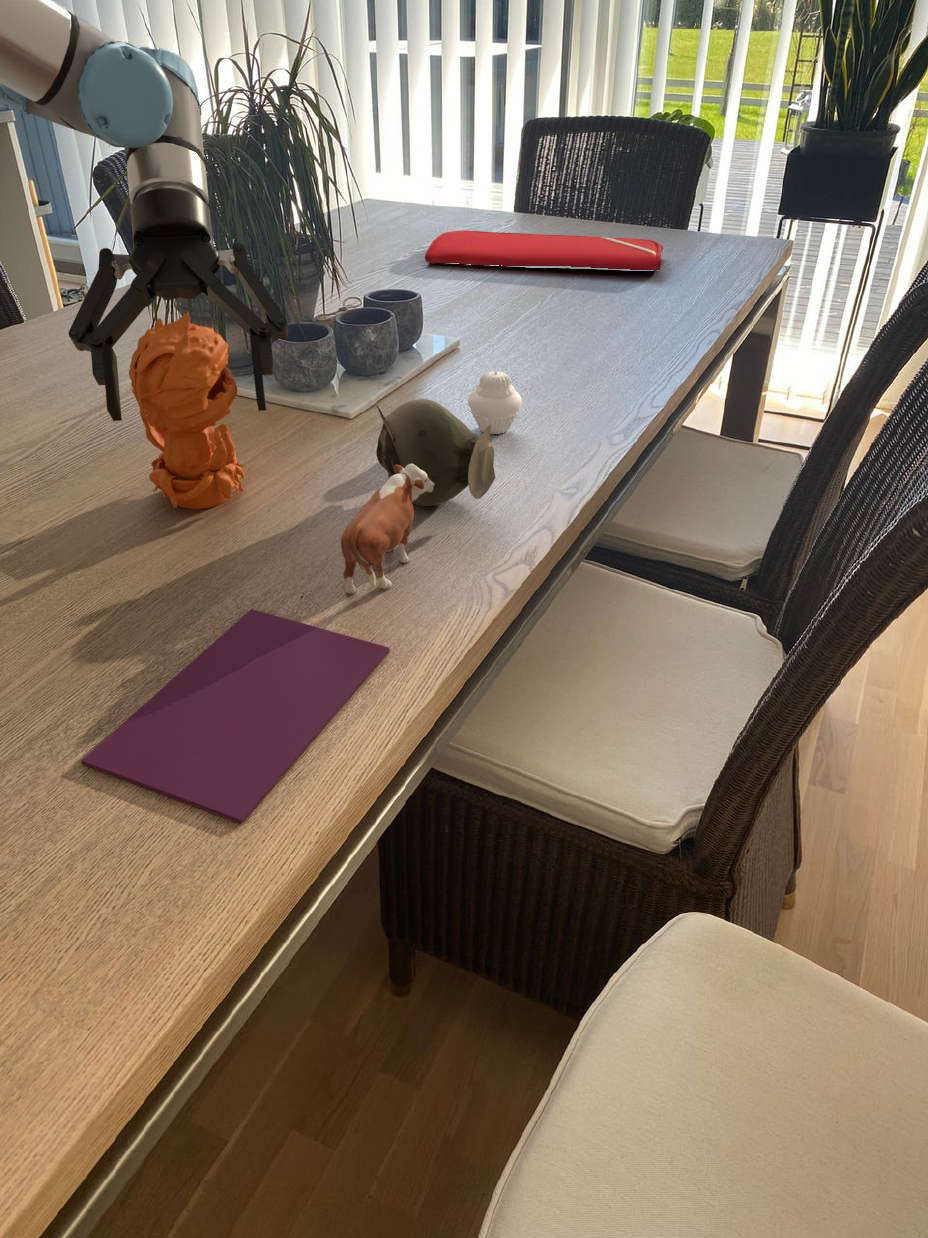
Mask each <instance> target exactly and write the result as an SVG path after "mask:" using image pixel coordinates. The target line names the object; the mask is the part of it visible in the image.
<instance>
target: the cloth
mask: <svg viewBox="0 0 928 1238" xmlns="http://www.w3.org/2000/svg"><path fill="white" fill-rule="evenodd" d="M390 651H391V650H390V647H389V646H385V645H381V644H379V643H378V644H377V643H374V642H371V641H367V640H364V639H361V638H357V637H354V636H351V635H346V634H342V633H340V632H336V631H331V630H328V629H324V628H321V627H317V626H314V625H311V624H307V623H304V622H300V621H296V620H293V619H290V618H285V617H283V616H278V615H276V614H272V613H268V612H265V611H261V610H257V609H254V608H250V609H249V610H248V611H247V612H246V613H245V614H244V615H243V616H242V617H241V618H240V619H238V620H237V621H236V622H235V623H233V624H232V626H230V627H229V628H228V629H227V630H226V631H225V632H223V634H222V635H220V636H219V637H218V638H217V639H216V640H215V641H213V642H212V643H211V644H210V645H209V646H208V647H207V648H206V649H205V650H204V651H202V652H201V653H200V654H199V655H198V656H197V657H195V658H194V659H193V660H192V661H191V662H189V664H188V665H187V666H185V667H184V668H183V669H182V670H181V671H180V672H179V673H178V674H176V676H174V677H173V678H172V679H171V680H170V681H168V682H167V684H165V685H164V686H163V687H161V689H160V690H158V692H156V693H155V694H154V695H153V696H152V697H151V698H149V699H148V700H147V701H146V702H145V703H144V704H143V705H142V706H141V707H139V708H138V709H137V710H135V712H134V713H132V714H131V716H129V717H128V718H127V719H126V720H124V722H122V724H120V725H119V726H118V727H117V728H115V730H114V731H112V733H110V734H109V735H108V736H107V737H106V738H104V740H102V741H101V742H100V743H99V744H98V745H97V746H95V748H93V749H92V750H91V751H90V752H89V753H88V754H87V755H85V756H84V757H83V758H82V759H81V760H80V762H81V765H82V766H85V767H88V768H90V769H93V770H96V771H98V772H101V773H104V774H106V775H109V776H112V777H114V778H117V779H120V780H122V781H125V782H128V783H130V784H134V785H136V786H139V787H141V788H144V789H146V790H149V791H152V792H155V793H157V794H159V795H163V796H165V797H168V798H170V799H173V800H176V801H178V802H181V803H184V804H187V805H190V806H192V807H194V808H198V809H200V810H204V811H205V812H208V813H211V814H213V815H215V816H216V815H217V816H219V817H222V818H225V819H227V820H230V821H232V822H235V823H238V824H240V825H243V823H244V822H245V821H246V820H247V819H248V818H249V816H251V814H253V812H254V811H255V810H256V809H257V807H258V806H259V805H260V804H261V803H262V801H263V800H264V799H265V798H266V797H267V796H268V794H269V793H270V792H271V791H272V790H273V789H274V787H275V786H276V785H277V784H278V783H279V781H280V780H281V779H282V778H283V777H284V776H285V774H286V773H287V772H288V771H289V770H290V769H291V767H292V766H293V765H294V764H295V763H296V762H297V761H298V760H299V758H300V757H301V756H302V755H303V753H305V751H306V750H307V749H308V748H309V746H311V744H312V743H313V742H314V740H315V739H316V738H317V737H318V736H319V735H320V733H321V732H322V731H323V730H324V729H325V728H326V726H327V725H328V724H329V723H330V722H331V721H332V719H333V718H334V717H335V716H336V715H337V713H338V712H339V711H340V710H341V709H342V708H343V707H344V706H345V704H346V703H347V702H348V701H349V699H350V698H351V697H352V696H353V695H354V694H355V693H356V692H357V690H358V689H359V688H360V686H361V685H363V683H364V682H365V681H366V679H368V677H370V675H371V674H372V673H373V672H374V670H376V668H377V667H378V666H379V665H380V663H382V662H383V660H384V659H385V657H386V656H387V655H388V654H389V653H390Z"/></svg>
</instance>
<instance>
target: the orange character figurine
mask: <svg viewBox="0 0 928 1238" xmlns="http://www.w3.org/2000/svg"><path fill="white" fill-rule="evenodd" d="M229 355H230V346H229V343H228V342H227V341H225V340H224V338H223V336H222V335H221V334H219V333H217V332H215V330H214V328H213V327H207V326H202V325H198V324H197V323H192V322H191V314H190V311H186V312H185V313H184V314H183V315H181V316H180V317H178V319H176V320H175V321H172V322H168V323H167V324H166V325H164V323H163V320H162V319H161V318H157V319H156V321H155V323H154V328H148V329H147V330H146V331H145V333H143V335H142V336H141V337H139V338H138V340H137V347H136V349H135V351H134V352H133V353H132V356H131V361H130V365H129V370H128V375H129V376H128V377H129V379H130V380H131V387H132V390H131V392H132V394H133V396H134V398H135V400H136V402H137V404H138V407H139V413H140V414H139V415H140V418H141V420H142V423H143V426H144V428H145V437H146V438H147V440H148V441H149V443H150V444H151V445H152V446H154V447H155V448H157V449H158V450H159V451H161V452H160V454H159V455H158V458H155V459H154V460H152V461H151V467H152V471H151V472H150V473H149V475H148V476H149V480H150V482H151V483H153V484H154V485H155V486H154V488H153V490H152V493H155V492H157V491H158V490H161V492H162V497H164V498H166V497H167V496H168V497H169V499H170V503H171V505H172V506H173V508H175V509H176V508H177V507H181V508H183V509H190V510H203V509H209V508H214V507H216V506H219V505H221V504H223V503H225V502H226V501H228V499H232V498H233V497H234V495H231V493H232V490H233V488H235V490H236V491H237V492H238V493H241V492H244V491H245V489H244V487H243V486H242V479H243V480H244V478H245V472H244V471H243V468H244V465H243V464H242V463H240V462H239V460H238V459H237V452H236V449H237V447H236V445H235V444H234V442H233V440H232V435H231V432H230V429H229V427H228V425H226V424H225V423H221V424H220V425H217V422H219V421H220V420H223V419H224V418H225V417H226V416H227V415H229V414H230V413H231V412H232V408H231V405H232V404H233V402H234V401H235V398H236V396H237V395H238V385H237V383H236V381H235V378H234V374H233V372H232V371H231V369H230V368H229V367H228V366H227V365H228V364H229ZM216 425H217V427H216ZM213 427H215V429H214V428H213Z"/></svg>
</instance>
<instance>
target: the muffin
mask: <svg viewBox="0 0 928 1238" xmlns="http://www.w3.org/2000/svg"><path fill="white" fill-rule="evenodd" d="M522 402H523V400H522V397H521V395H520V394H519V393H518V391H517V390H515V387H514V385H513V384H512V379H511V377H510V376H509V375H508V374H507V373H505V372H503V371H497V370H495V371H492V370H491V371H488V372H486V373H483V375H482V376H481V377H480V378H479V384H478V385H476V388H475V389H473V390H472V391H471V392H470V393H469V395H468V398H467V404H468V407H469V409H470V413H471V416H472V417H473V419H474V421H475V422H476V424H477V426H478V428H479V430H480V432H482V433H483V432H484V430H485V429H486V428H487V427H488V426H490V425H492V429H491V433H490V435H491V434H499V433H503V434H505V433H507V432H508V431H509V429H510V428H511V426H512V425H513V422H514V421H515V420H516V418H517V416H518V414H519V411H520V408H521V407H522V404H523V403H522ZM507 430H508V431H507ZM506 431H507V432H506ZM504 432H505V433H504ZM499 435H500V434H499Z"/></svg>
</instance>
